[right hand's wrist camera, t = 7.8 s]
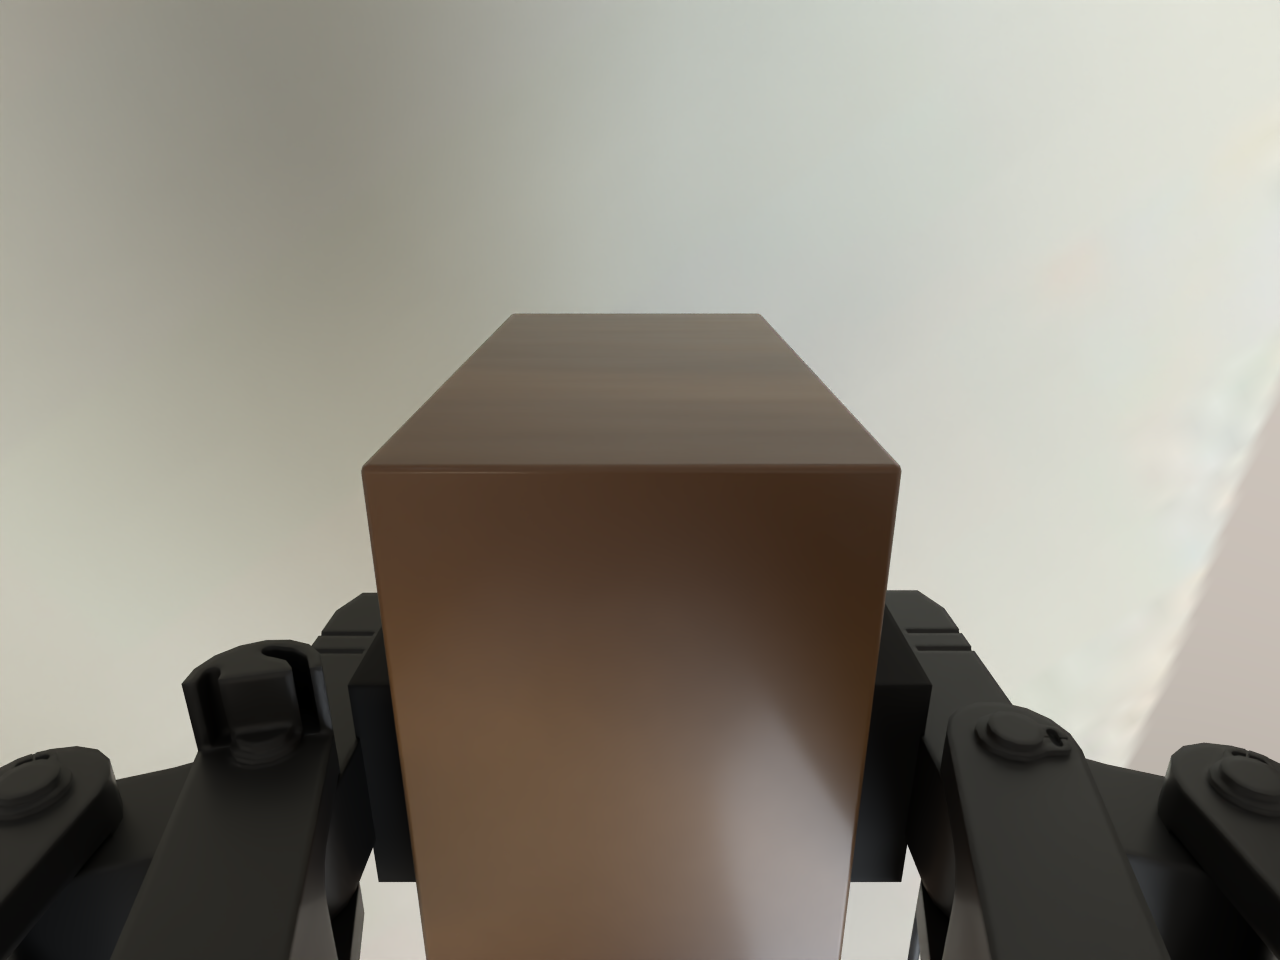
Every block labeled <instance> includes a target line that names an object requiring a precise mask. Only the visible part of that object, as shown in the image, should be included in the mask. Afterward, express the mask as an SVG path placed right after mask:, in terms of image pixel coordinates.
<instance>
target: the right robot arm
mask: <svg viewBox="0 0 1280 960" xmlns="http://www.w3.org/2000/svg"><path fill="white" fill-rule="evenodd" d="M182 688H183V692H184V696H185V700H186V704H187V708H188V712H189V716H190V720H191V724H192V728H193V732H194V736H195V740H196V744H197V748H198V753H197V755H196V758H195V760H194V762H192V763H189V764H185V765H182V766H178V767H175V768H170V769H165V770H161V771H156V772H151V773H146V774H142V775H137V776H132V777H128V778H123V779H118V780H116V779H115V776H114V772H113V769H112V766H111V762H110V759H109V758H108V757H106V756H105V755H104V754H103V753H101V752H100V751H99V750H98V749H91V748H85V747H79V746H74V747H65V748H56V749H49V750H46V751H41V752H37V753H36V754H30V755H27V756H24V757H21V758H19V759H16V760H14V761H13V762H11V763H9V764H7V765H5V766H3V767H1V768H0V960H359V959H360V949H361V940H362V930H363V921H364V908H363V901H362V895H361V889H360V883H359V881H360V878H361V876H362V873H363V871H364V868H365V866H366V863H367V861H368V858H369V856H370V853H371V851H372V848H373V849H374V855H375V861H376V868H377V874H378V880H379V882H416V878H415V870H414V863H413V855H412V848H411V840H410V833H409V825H408V818H407V810H406V803H405V795H404V788H403V780H402V773H401V765H400V758H399V750H398V743H397V735H396V728H395V720H394V713H393V705H392V698H391V691H390V683H389V676H388V668H387V661H386V653H385V646H384V638H383V631H382V623H381V616H380V608H379V601H378V593H362V594H360V595H359V596H357V597H356V598H355V599H353V600H352V601H350V602H349V603H347V604H346V605H344V606H343V607H341V608H340V609H338V610H337V611H336V612H335V613H334V615H333V616H332V618H331V619H330V620H329V622H328V623H327V625H326V626H325V628H324V629H323V630H322V634H321V636H318V638H317V639H316V640H315V642H314V643H313V645H312V646H310V645H309V644H306V643H301V642H297V641H293V640H265V641H260V642H255V643H251V644H246V645H241V646H238V647H235V648H233V649H230V650H228V651H225V652H223V653H220V654H218V655H215V656H214V657H212V658H210V659H209V660H207V661H206V662H204V663H203V664H201V665H200V666H198V667H197V668H195V669H194V670H193V671H192V672H191V673H190V675H189V676H188V677H187V678H186V679H185V681H184V682H183V683H182ZM907 845H908V847H909V850H910V852H911V855H912V857H913V860H914V862H915V865H916V867H917V869H918V872H919V874H920V877H921V883H920V889H919V895H918V900H917V906H916V912H915V918H914V924H913V930H912V936H911V941H910V948H909V954H908V960H919V955H920V957H921V960H1280V763H1277V762H1275V761H1273V760H1271V759H1269V758H1268V757H1266V756H1264V755H1261V754H1258V753H1256V752H1253V751H1247V750H1245V749H1242V748H1238V747H1234V746H1229V745H1220V744H1211V743H1199V744H1193V745H1187V746H1183V747H1181V748H1180V749H1179V750H1178V751H1177V752H1175V753H1174V754H1173V755H1172V756H1171V759H1170V762H1169V766H1168V769H1167V772H1166V776H1165V777H1164V776H1159V775H1154V774H1150V773H1145V772H1140V771H1135V770H1131V769H1126V768H1121V767H1117V766H1112V765H1107V764H1103V763H1100V762H1096V761H1093V760H1089V759H1085V756H1084V754H1083V751H1082V750H1081V748H1080V747H1079V745H1078V744H1077V743H1076V741H1075V740H1074V738H1073V737H1072V736H1071V734H1070V733H1068V732H1067V731H1066V730H1064V729H1063V728H1062V727H1060V726H1059V725H1058V724H1056V723H1055V722H1054V721H1052V720H1051V719H1049V718H1047V717H1045V716H1042V715H1040V714H1038V713H1036V712H1034V711H1031V710H1029V709H1027V708H1023V707H1019V706H1015V705H1012V703H1011V702H1010V701H1009V699H1008V698H1007V696H1006V695H1005V694H1004V692H1003V691H1002V689H1001V688H1000V687H999V685H998V684H997V682H996V681H995V679H994V678H993V677H992V675H991V674H990V672H989V671H988V670H987V668H986V667H985V665H984V664H983V662H982V661H981V660H980V658H979V657H978V655H977V654H976V653H975V651H971V646H970V644H969V643H968V641H967V640H966V638H965V637H964V636H963V634H962V633H959V629H958V627H957V626H956V624H955V623H954V621H953V620H952V619H951V617H950V616H949V614H948V613H947V612H946V610H945V609H944V608H943V607H941V606H940V605H939V604H937V603H936V602H934V601H933V600H931V599H930V598H928V597H927V596H925V595H924V594H922V593H921V592H919V591H918V590H887V591H886V599H885V607H884V615H883V623H882V631H881V639H880V647H879V655H878V663H877V671H876V679H875V687H874V695H873V703H872V711H871V719H870V727H869V735H868V743H867V752H866V760H865V768H864V776H863V784H862V792H861V800H860V808H859V816H858V824H857V832H856V840H855V848H854V856H853V864H852V872H851V880H850V882H901V880H902V874H903V868H904V861H905V855H906V849H907Z"/></svg>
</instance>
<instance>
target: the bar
mask: <svg viewBox="0 0 1280 960" xmlns="http://www.w3.org/2000/svg"><path fill="white" fill-rule="evenodd" d="M361 473H362V481H363V488H364V496H365V503H366V511H367V518H368V526H369V533H370V541H371V548H372V556H373V563H374V571H375V578H376V586H377V593H378V601H379V608H380V616H381V623H382V631H383V638H384V646H385V653H386V661H387V668H388V676H389V683H390V691H391V698H392V705H393V713H394V720H395V728H396V735H397V743H398V750H399V758H400V765H401V773H402V780H403V788H404V795H405V803H406V810H407V818H408V825H409V833H410V840H411V848H412V855H413V863H414V870H415V878H416V885H417V893H418V900H419V908H420V915H421V923H422V930H423V938H424V945H425V953H426V960H841V952H842V944H843V936H844V928H845V920H846V912H847V904H848V896H849V888H850V880H851V872H852V864H853V856H854V848H855V840H856V832H857V824H858V816H859V808H860V800H861V792H862V784H863V776H864V768H865V760H866V752H867V743H868V735H869V727H870V719H871V711H872V703H873V695H874V687H875V679H876V671H877V663H878V655H879V647H880V639H881V631H882V623H883V615H884V607H885V599H886V591H887V583H888V575H889V567H890V559H891V551H892V543H893V535H894V527H895V519H896V511H897V503H898V494H899V486H900V478H901V468H900V466H899V464H898V463H897V462H896V461H895V460H894V459H893V458H892V457H891V456H890V455H889V454H888V453H887V451H886V450H885V449H884V448H883V447H882V446H881V445H880V444H879V443H878V442H877V441H876V439H875V438H874V437H873V436H872V435H871V434H870V433H869V432H868V431H867V430H866V429H865V428H864V426H863V425H862V424H861V423H860V422H859V421H858V420H857V419H856V418H855V417H854V416H853V415H852V413H851V412H850V411H849V410H848V409H847V408H846V407H845V406H844V405H843V404H842V403H841V402H840V400H839V399H838V398H837V397H836V396H835V395H834V394H833V393H832V392H831V391H830V390H829V388H828V387H827V386H826V385H825V384H824V383H823V382H822V381H821V380H820V379H819V378H818V377H817V375H816V374H815V373H814V372H813V371H812V370H811V369H810V368H809V367H808V366H807V365H806V364H805V362H804V361H803V360H802V359H801V358H800V357H799V356H798V355H797V354H796V353H795V352H794V350H793V349H792V348H791V347H790V346H789V345H788V344H787V343H786V342H785V341H784V340H783V339H782V337H781V336H780V335H779V334H778V333H777V332H776V331H775V330H774V329H773V328H772V327H771V326H770V324H769V323H768V322H767V321H766V320H765V319H764V318H763V317H762V316H761V315H760V314H512V315H511V316H510V317H509V318H508V319H507V320H506V321H505V322H504V323H503V324H502V325H501V326H500V327H499V328H498V329H497V330H496V331H495V332H494V333H493V334H492V335H491V336H490V337H489V338H488V339H487V340H486V341H485V342H484V343H483V344H482V345H481V346H480V347H479V348H478V349H477V351H476V352H475V353H474V354H473V355H472V356H471V357H470V358H469V359H468V360H467V361H466V362H465V363H464V364H463V365H462V366H461V367H460V368H459V369H458V370H457V371H456V372H455V373H454V374H453V375H452V376H451V377H450V378H449V379H448V380H447V381H446V382H445V383H444V384H443V385H442V386H441V387H440V388H439V389H438V390H437V391H436V392H435V393H434V394H433V395H432V396H431V397H430V398H429V399H428V400H427V401H426V402H425V403H424V404H423V405H422V406H421V407H420V408H419V409H418V410H417V411H416V412H415V413H414V414H413V415H412V417H411V418H410V419H409V420H408V421H407V422H406V423H405V424H404V425H403V426H402V427H401V428H400V429H399V430H398V431H397V432H396V433H395V434H394V435H393V436H392V437H391V438H390V439H389V440H388V441H387V442H386V443H385V444H384V445H383V446H382V447H381V448H380V449H379V450H378V451H377V452H376V453H375V454H374V455H373V456H372V457H371V458H370V459H369V460H368V461H367V462H366V463H365V464H364V465H363V467H362V470H361Z"/></svg>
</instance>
